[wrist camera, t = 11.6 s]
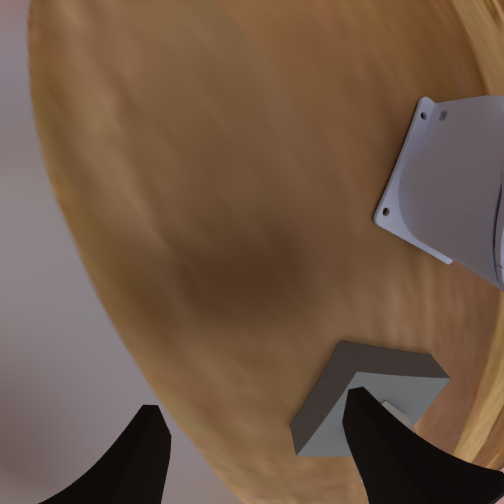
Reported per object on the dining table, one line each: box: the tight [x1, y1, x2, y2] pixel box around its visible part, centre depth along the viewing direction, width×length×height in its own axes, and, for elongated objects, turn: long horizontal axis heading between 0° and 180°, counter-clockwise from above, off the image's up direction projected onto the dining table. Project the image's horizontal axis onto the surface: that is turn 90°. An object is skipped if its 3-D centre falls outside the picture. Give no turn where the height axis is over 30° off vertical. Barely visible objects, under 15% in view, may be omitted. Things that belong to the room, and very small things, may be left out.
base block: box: [290, 341, 450, 457], centre depth 21 cm, size 10×10×4 cm
